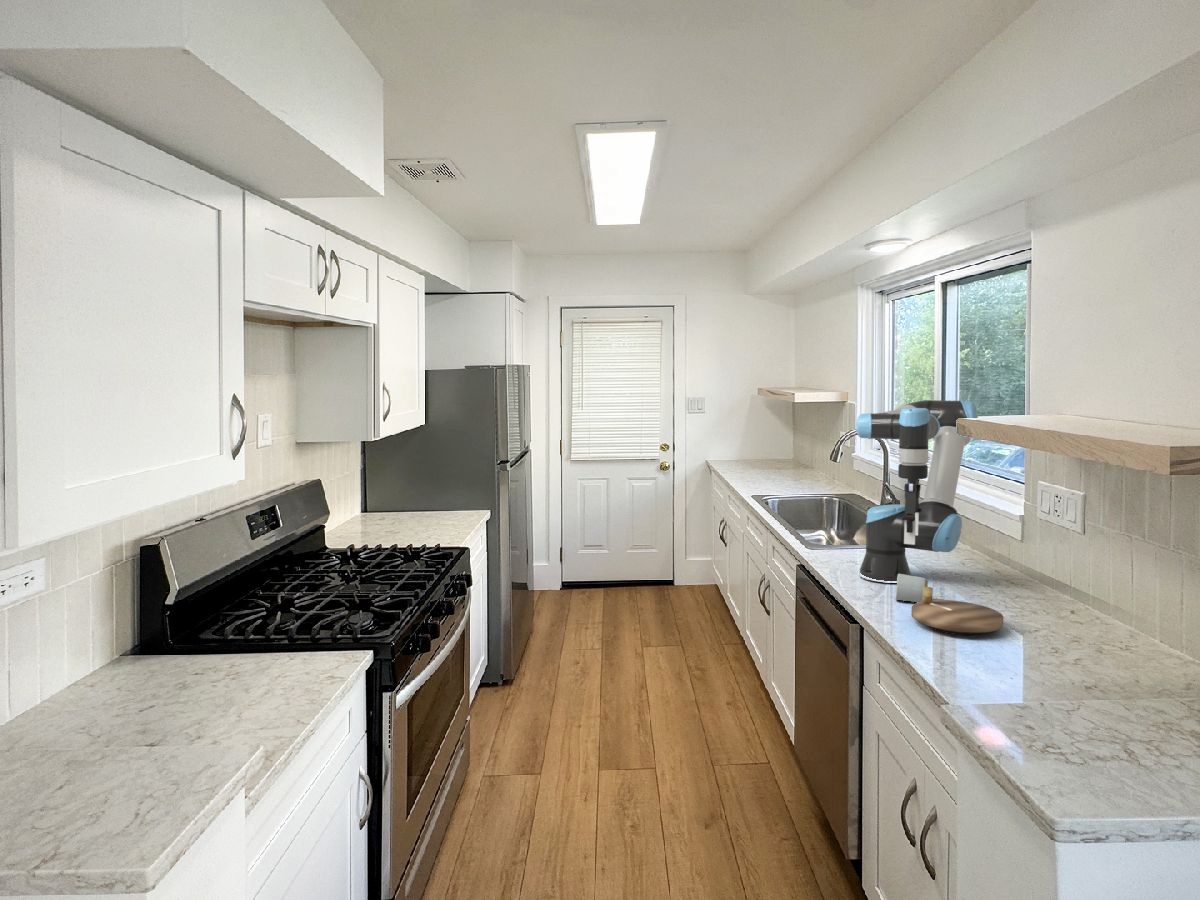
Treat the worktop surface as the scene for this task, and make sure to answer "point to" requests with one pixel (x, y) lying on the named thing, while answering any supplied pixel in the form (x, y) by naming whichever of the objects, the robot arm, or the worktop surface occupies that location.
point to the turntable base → (956, 631)
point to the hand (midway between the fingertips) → (911, 539)
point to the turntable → (955, 615)
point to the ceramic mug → (910, 588)
